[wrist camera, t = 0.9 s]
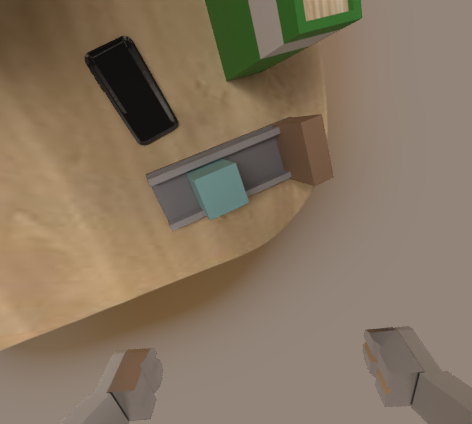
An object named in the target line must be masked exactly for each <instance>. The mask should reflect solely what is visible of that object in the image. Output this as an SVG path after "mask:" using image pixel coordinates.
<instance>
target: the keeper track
mask: <svg viewBox="0 0 472 424" xmlns="http://www.w3.org/2000/svg"><path fill="white" fill-rule="evenodd" d="M219 158H222V159H225V160H228V161H231V162H235V163H236V165H237V168H238V171H239V174H240V177H241V180H242V183H243V186H244V189H245V192H246V195H247V197H249V196H251V195H253V194H256V193H258V192H260V191H262V190H265V189H267V188H269V187H271V186H273V185H276V184H278V183H280V182H282V181H284V180H287V179H289V178H290V179H293V180H297V181H300V182H303V183H306V184H310V185H313V186H316V185H318V184H320V183H322V182H324V181H326V180H328V179H331V178H333V173H332V167H331V161H330V156H329V151H328V145H327V140H326V135H325V129H324V124H323V119H322V114H320V115H312V116H303V117H294V118H292V117H288V118H286V119H283V120H281V121H278V122H276V123H273V124H271V125H268V126H266V127H263V128H261V129H258V130H256V131H253V132H251V133H248V134H246V135H243V136H241V137H238V138H236V139H233V140H231V141H228V142H226V143H223V144H221V145H218V146H216V147H213V148H211V149H208V150H206V151H203V152H201V153H198V154H196V155H193V156H191V157H188V158H186V159H183V160H181V161H178V162H176V163H173V164H171V165H168V166H166V167H163V168H161V169H158V170H156V171H153V172H151V173H148V174H146V177H147V181H148V183H149V185H150V187H152V189H153V191H154V193H155V195H156V197H157V199H158V201H159V203H160V205H161V207H162V209H163V211H164V213H165V215H166V217H167V219H168V222H169V225H170V228H171V230H172V231H174V230H176V229H179V228H181V227H183V226H185V225H187V224H190V223H192V222H194V221H196V220H198V219H201V218H203V217H205V216H207V215H206V214H205V212H204V211H203V210H202V208H201V207H200V206H199V203H198V201H197V198H196V196H195V194H194V191H193V189H192V187H191V184H190V182H189V180H188V177H187V175H186V173H185V172H188V171H190V170H193V169H195V168H197V167H200V166H202V165H205V164H207V163H210V162H212V161H214V160H217V159H219Z"/></svg>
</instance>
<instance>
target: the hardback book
mask: <svg viewBox="0 0 472 424" xmlns="http://www.w3.org/2000/svg"><path fill="white" fill-rule="evenodd" d="M205 2H206V6H207V9H208V13H209V17H210V21H211V25H212V28H213V32H214V36H215V40H216V43H217V47H218V51H219V55H220V59H221V62H222V66H223V70H224V74H225V77H226V81H230V80H233V79H237V78H240V77H244V76H248V75H251V74H255V73H258V72H262V71H264V70H266V69H268V68H270V67H272V66H274V65H275V64H277V63H279V62H281V61H283V60H285V59H287V58H288V57H290V56H292V55H294V54H296V53H298V52H300V51H302V50H303V49H305V48H307V47H309V46H311V45H313V44H315V43H316V42H318V41H320V40H322V39H324V38H326V37H328V36H330V35H331V34H333V33H335V32H337V31H339V30H340V29H343V28H344V27H346V26H348V25H350V24H352V23H354V22H356V21H358V20H359V19H361V18H362V11H361V0H205Z"/></svg>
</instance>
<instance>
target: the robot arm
mask: <svg viewBox="0 0 472 424" xmlns="http://www.w3.org/2000/svg"><path fill="white" fill-rule="evenodd" d="M364 338H365V340H366V343H365V344H364V345H363V354H364V359H365V362H366V365H367V367H368V370H369V372H370V373H371V374H372V375H373V376H374V377H376V388H377V390H378V393H379V395H380V397H381V400H382V402H383V404H384V406H385V407H386V406H389V407H390V406H412V409H414V410H415V411H416V412H417V413H418V414H419V415H420V416H421V417H422V418H423V419H424V420H425V421H426V422H427V423H428V424H472V388H471V387H470V386H469V385H467V384H466V383H464V382H462V381H461V380H460V379H458V378H457V377H455V376H454V375H452V374H451V373H449V372H448V371H442V370H441V369H440V367H439V366H438V364H437V363H436V362H435V360H434V359H433V357H432V356H431V354H430V353H429V351H428V350H427V349H426V347H425V346H424V344H423V343H422V341H421V340H420V339H419V337H418V336H417V334H416V333H415V332H414V330H413V329H412V328H411V327H409V326H405V327H395V328H393V327H390V328H380V329H370V330H365V332H364ZM156 354H157V353H156V351H155V349H154V348H147V349H146V348H145V349H127V350H117V351H115V353H114V354H113V355H112V357H111V359H110V361H109V363H108V365H107V367H106V369H105V371H104V373H103V375H102V377H101V379H100V381H99V383H98V385H97V387H96V389H95V391H94V393H93V394H90V395H88V396H87V397H86V398H85V399H84V400H83V401H82V402H81V403H80V404H79V405H78V406H77V407H76V408H75V409H73V411H71V413H69V414H68V415H67V416H66V417H65V418H64V419H63V420H62V421H61V422H60V423H59V424H128V423H129V421H135V420H147V419H151V416H152V413H153V409H154V406H155V402H156V397H155V394H154V393H155V392H156V391H157V389H158V388H159V387H160V384H161V381H162V373H163V369H162V364H161V362H160V360H159V359H157V358H156Z"/></svg>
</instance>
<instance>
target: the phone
mask: <svg viewBox="0 0 472 424" xmlns="http://www.w3.org/2000/svg"><path fill="white" fill-rule="evenodd" d="M85 62H86V64H87V66H88V67H89V69H90V70H91V73H92V74H93V75H94V77H95V79H96V81H97V82H98V84H100V87H101V88H102V90H103V92H105V93H106V95H107V97H108V98H109V100H110V101H111V103H112V104H113V106H114V107H115V109H116V110H117V112H118V113H119V115H120V116H121V118H122V120H123V121H124V123H125V124H126V126H127V127H128V129H129V130H130V132H131V133H132V135H133V136H134V138H135V139H136V141H137V142H138V143H139V144H140V145H146V144H148V143H150V142H152V141H154V140H156V139H157V138H159V137H161V136H163V135H165V134H166V133H168V132H170V131H172V130H174V129H175V128H176V127H177V124H178V122H177V119H176V118H175V116H174V114H173V112H172V110H171V109H170V107H169V105H168V103H167V102H166V100H165V98H164V96H163V94H162V93H161V91H160V89H159V87H158V86H157V84H156V82H155V80H154V78H153V77H152V75H151V73H150V71H149V70H148V68H147V66H146V64H145V62H144V61H143V59H142V57H141V55H140V53H139V52H138V50H137V48H136V46H135V45H134V43H133V41H132V40H131V39H130V38H129V37H127V36H121V37H119V38H117V39H115V40H113V41H111V42H109V43H107V44H105V45H103V46H100V47H98V48H96V49H94V50H92V51H90V52H88V53H87V54H86V55H85Z"/></svg>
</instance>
